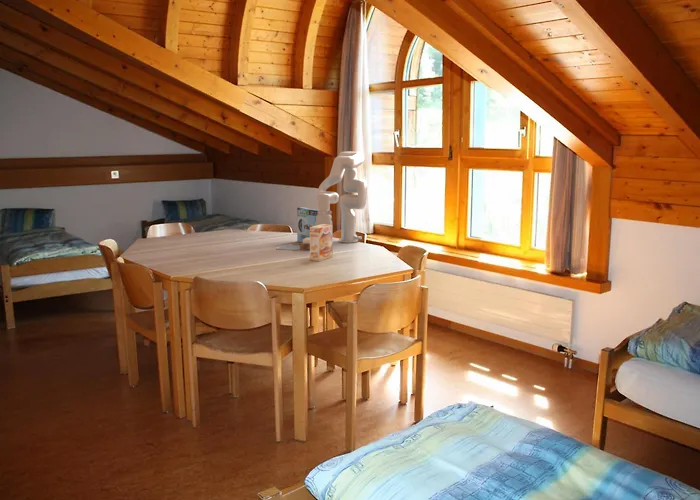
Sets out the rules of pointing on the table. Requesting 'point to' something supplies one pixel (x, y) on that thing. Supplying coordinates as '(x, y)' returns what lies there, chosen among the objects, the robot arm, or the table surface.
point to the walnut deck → (305, 246)
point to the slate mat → (289, 247)
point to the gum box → (305, 222)
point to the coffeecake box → (320, 242)
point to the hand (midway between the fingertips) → (324, 241)
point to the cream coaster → (306, 240)
